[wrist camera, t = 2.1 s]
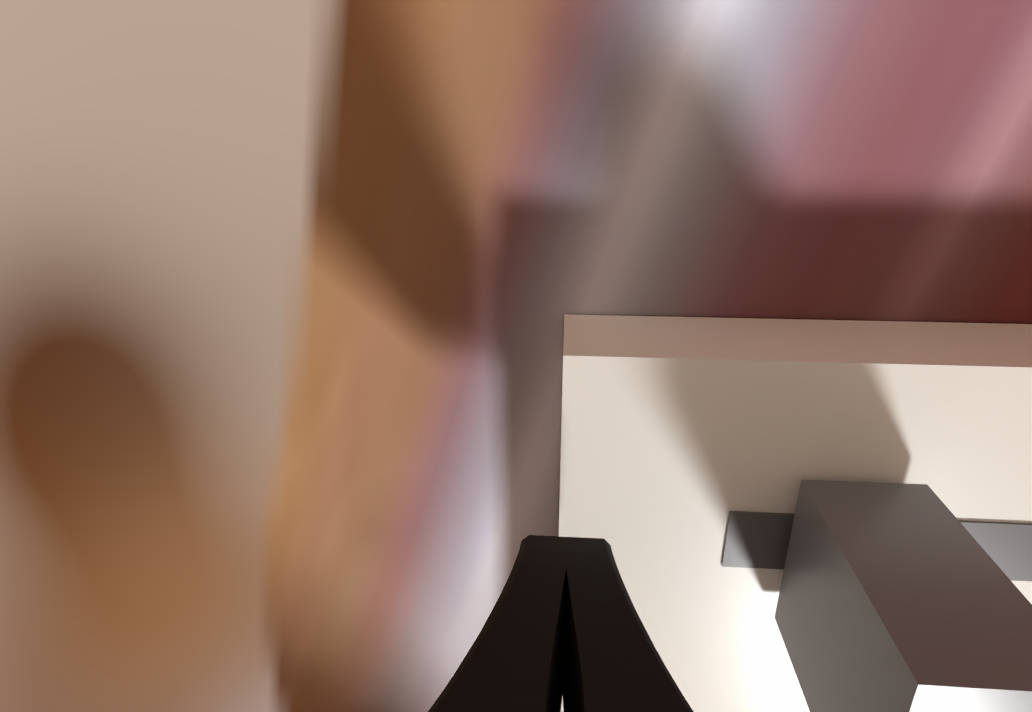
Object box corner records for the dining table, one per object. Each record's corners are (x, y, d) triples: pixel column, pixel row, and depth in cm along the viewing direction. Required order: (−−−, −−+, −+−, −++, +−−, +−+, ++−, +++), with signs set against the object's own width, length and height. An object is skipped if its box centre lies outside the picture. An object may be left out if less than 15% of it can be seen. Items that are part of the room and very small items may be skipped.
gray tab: (887, 623, 12) (1027, 866, 8) (774, 617, 12) (863, 854, 8) (927, 484, 11) (1111, 697, 7) (801, 479, 11) (918, 685, 7)
